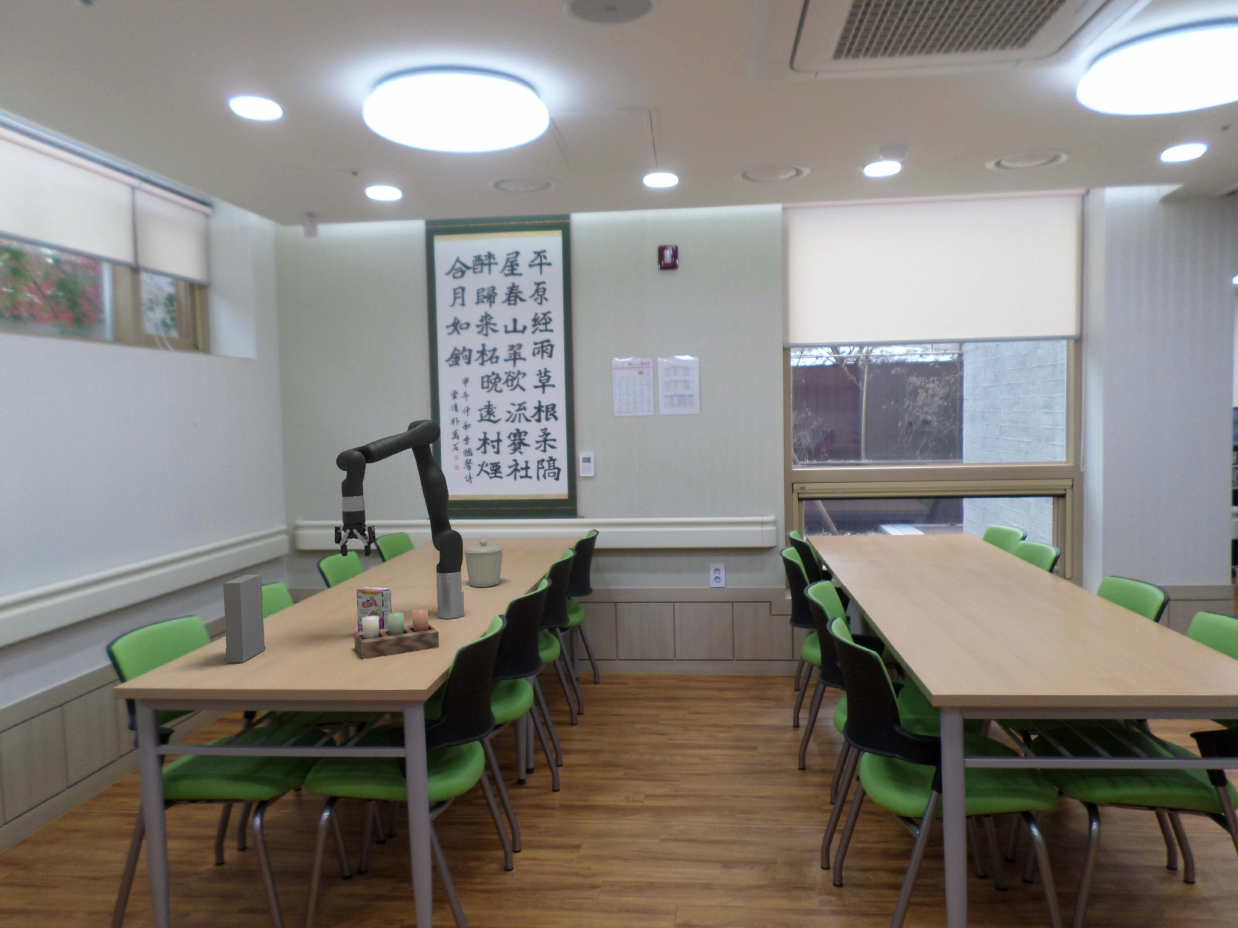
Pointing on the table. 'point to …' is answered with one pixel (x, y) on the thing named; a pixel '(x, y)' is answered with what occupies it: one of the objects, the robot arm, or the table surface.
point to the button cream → (370, 627)
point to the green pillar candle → (395, 623)
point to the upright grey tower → (243, 618)
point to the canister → (484, 564)
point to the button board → (396, 642)
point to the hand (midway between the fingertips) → (356, 556)
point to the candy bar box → (374, 605)
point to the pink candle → (420, 620)
